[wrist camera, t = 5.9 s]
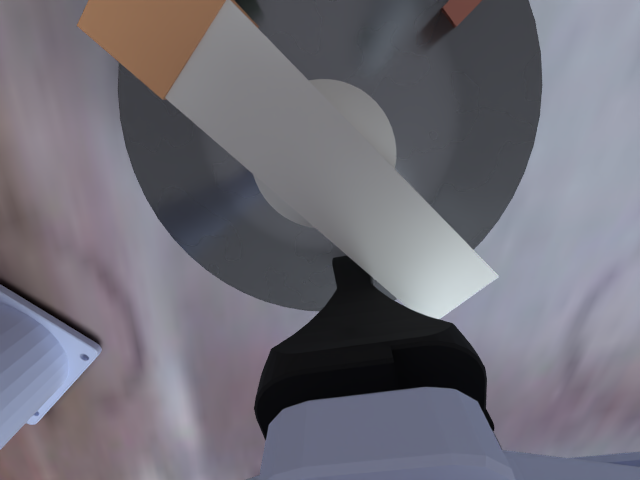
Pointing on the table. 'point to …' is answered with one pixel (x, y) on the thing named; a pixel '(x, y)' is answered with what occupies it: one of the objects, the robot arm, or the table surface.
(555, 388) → the table surface
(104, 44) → the white bar
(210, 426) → the table surface
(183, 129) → the flange
